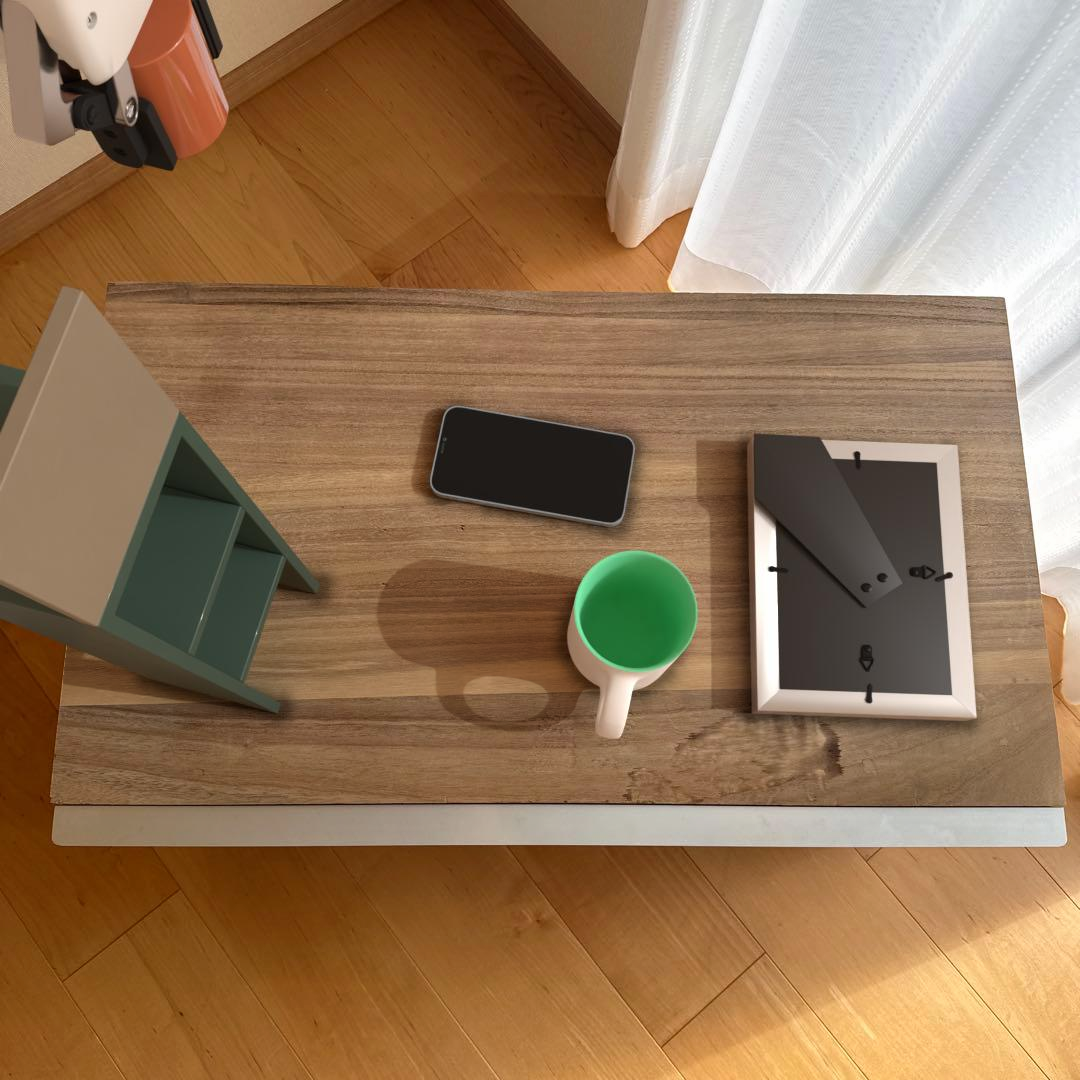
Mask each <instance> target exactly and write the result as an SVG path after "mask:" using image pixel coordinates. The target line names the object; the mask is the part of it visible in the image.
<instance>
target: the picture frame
mask: <svg viewBox="0 0 1080 1080" xmlns="http://www.w3.org/2000/svg"><path fill="white" fill-rule="evenodd" d="M958 446H959V445H958V444H946V443H945V444H944V443H917V442H893V441H869V440H868V441H867V440H841V439H840V440H839V439H822V438H821V437H820V436H811V435H810V436H809V435H793V434H770V433H754V434H753V436H752V437H751V438H750V440H749V442H748V443H747V445H746V468H747V470H746V471H747V473H746V475H747V521H748V522H747V523H748V524H747V525H748V527H747V528H748V529H747V530H748V577H749V578H748V579H749V580H748V581H749V582H748V583H749V585H748V586H749V589H748V590H749V635H750V637H749V641H750V643H749V644H750V691H751V692H750V694H751V695H750V696H751V697H750V699H751V703H750V704H751V714H752V715H753V714H754V715H780V716H782V715H783V716H784V715H785V716H809V717H836V718H837V717H838V718H839V717H840V718H843V717H844V718H868V719H870V718H871V719H893V720H897V719H898V720H924V721H925V720H926V721H951V722H952V721H953V722H956V721H957V722H967V721H971V720H975V719H978V715H977V704H976V703H977V702H976V688H975V675H974V660H973V645H972V631H971V616H970V601H969V589H968V588H969V587H968V576H967V561H966V546H965V532H964V531H965V530H964V517H963V503H962V501H963V500H962V489H961V475H960V473H961V472H960V460H959V459H960V458H959V447H958Z"/></svg>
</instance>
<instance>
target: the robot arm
mask: <svg viewBox="0 0 1080 1080" xmlns="http://www.w3.org/2000/svg"><path fill="white" fill-rule="evenodd" d="M152 1H153V0H0V63H2V64H4V65H6V74H7V83H8V92H9V102H10V111H11V123H12V124H11V125H12V130H13V133H14V135H15V136H16V137H17V138H19V139H22V140H25V141H30V142H34V143H37V144H42V145H46V146H49V147H53V146H55V145H56V146H57V144H59V143H61V142H64V141H66V140H67V139H69V138H73V137H74V136H75V135H76V132H78V131H80V130H81V131H84V132H91V134H92V135H93V138H94V139H95V141H96V142H97V144H98V146H99V147H100V149H101V151H102V152H104V154H105V155H106V156H107V158H109V159H110V160H112V161H113V162H115V163H117V164H118V165H121V166H124V167H129V168H133V169H141V168H143V166H148V167H152V168H155V169H160V170H163V171H167V172H168V171H169V172H173V171H174V170H175V167H176V165H177V162H178V160H179V159H178V157H177V155H176V151H175V149H174V147H173V145H172V143H171V141H170V139H169V137H168V135H167V132H166V130H165V128H164V126H163V124H162V122H161V120H160V118H159V116H158V114H157V112H156V110H155V108H154V106H153V104H152V103H151V102H150V101H149V100H147V99H145V98H142V97H138V96H137V93H136V89H135V85H134V81H133V77H132V73H131V69H130V65H129V61H128V55H129V53H130V51H131V49H132V46H133V44H134V42H135V40H136V38H137V35H138V33H139V31H140V29H141V26H142V24H143V22H144V20H145V17H146V15H147V13H148V10H149V8H150V6H151V4H152ZM191 2H192V5H193V7H194V10H195V13H196V15H197V18H198V21H199V23H200V26H201V29H202V31H203V34H204V37H205V39H206V42H207V44H208V47H209V50H210V52H211V55H212V58H213V60H217V59H219V57H220V55H221V54H222V53H221V52H222V51H223V47H224V45H223V42H222V39H221V37H220V34H219V31H218V28H217V26H216V23H215V20H214V17H213V14H212V12H211V9H210V6H209V3H208V0H191ZM81 72H82V74H83V75H84V77H85V79H83V78H82V74H81Z"/></svg>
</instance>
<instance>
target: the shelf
mask: <svg viewBox="0 0 1080 1080" xmlns="http://www.w3.org/2000/svg"><path fill="white" fill-rule="evenodd" d="M27 365H28V366H27V368H26V369H22V368H18V367H14V366H10V365H6V364H2V363H0V619H1V620H4V621H6V622H9V623H11V624H13V625H16V626H18V627H21V628H23V629H26V630H29V631H31V632H32V633H36V634H38V635H40V636H43V637H46V638H48V639H50V640H53V641H55V642H58V643H60V644H63V645H64V646H67V647H69V648H72V649H75V650H77V651H79V652H82V653H83V654H87V655H90V656H92V657H94V658H97V659H99V660H101V661H103V662H107V663H109V664H112V665H114V666H117V667H118V668H121V669H124V670H126V671H129V672H131V673H134V674H136V675H139V676H141V677H143V678H146V679H148V680H152V681H156V682H160V683H163V684H167V685H170V686H174V687H177V688H182V689H185V690H188V691H192V692H196V693H200V694H203V695H208V696H211V697H214V698H218V699H222V700H225V701H229V702H232V703H235V704H240V705H244V706H246V707H247V706H248V707H251V708H254V709H259V710H262V711H265V712H270V713H271V714H272V713H273V714H276V715H277V714H279V711H280V708H281V705H282V703H281V702H280V701H277V700H275V699H274V698H272V697H270V696H268V695H266V694H264V693H262V692H260V691H259V690H257V689H255V688H253V687H252V686H249V685H248V684H245V683H246V680H247V677H248V674H249V671H250V668H251V665H252V662H253V659H254V656H255V653H256V651H257V648H258V645H259V642H260V639H261V635H262V633H263V630H264V627H265V624H266V621H267V618H268V616H269V612H270V609H271V606H272V603H273V600H274V597H275V594H276V591H277V588H278V585H282V586H286V587H289V588H292V589H293V588H294V589H297V590H300V591H304V592H308V593H310V594H311V593H313V594H318V592H319V589H320V586H321V584H320V582H319V581H318V580H317V579H316V578H315V576H314V574H312V572H310V570H309V569H308V568H307V566H306V565H305V564H304V562H302V560H301V559H300V558H299V556H298V555H297V554H296V553H295V552H294V551H293V549H292V548H291V547H290V545H289V544H288V543H287V542H286V540H285V539H284V537H282V535H281V534H280V532H278V531H277V529H276V528H275V527H274V526H273V524H272V523H271V521H269V519H268V517H266V515H265V514H264V513H263V512H262V511H261V509H260V508H259V506H257V505H256V503H255V502H254V501H253V499H252V498H251V497H250V496H249V495H248V493H247V492H246V491H245V490H244V488H243V487H242V486H241V485H240V483H239V482H238V481H237V480H236V478H235V477H234V476H233V475H232V473H231V472H230V471H229V470H228V469H227V467H226V466H225V465H224V463H222V461H221V460H220V459H219V457H218V456H217V455H216V454H215V452H214V451H213V450H212V448H211V447H210V446H209V445H208V443H206V441H205V440H204V439H203V437H202V436H201V435H200V434H199V432H198V431H197V430H196V429H195V427H194V426H193V425H192V424H191V422H190V421H189V420H188V419H187V418H186V417H185V415H184V414H183V413H182V412H181V411H180V409H179V408H178V406H176V404H175V403H174V402H173V400H172V399H171V398H170V396H169V395H168V394H167V393H166V392H165V391H164V389H163V388H162V387H161V385H160V384H159V383H158V382H157V381H156V379H155V378H154V376H152V374H151V373H150V372H149V370H148V369H146V367H145V365H144V364H142V362H141V361H140V360H139V358H138V357H137V356H136V355H135V353H134V352H133V351H132V349H130V348H129V346H128V345H127V344H126V342H125V341H124V340H123V338H121V336H120V335H119V333H118V332H117V331H116V330H115V328H114V327H113V326H112V325H111V324H110V323H109V321H108V320H107V319H106V318H105V316H104V315H103V314H102V312H101V311H100V310H99V309H98V308H97V306H96V305H95V304H94V302H92V300H91V299H90V298H89V296H88V295H87V293H85V292H84V291H83V290H81V289H77V288H74V287H71V286H70V287H69V286H67V285H66V286H65V285H62V286H61V287H60V289H59V292H58V294H57V296H56V299H55V302H54V304H53V307H52V308H51V311H50V313H49V316H48V318H47V320H46V323H45V325H44V327H43V330H42V332H41V335H40V337H39V340H38V342H37V344H36V346H35V349H34V351H33V354H32V356H31V359H30V361H29V363H28V364H27Z"/></svg>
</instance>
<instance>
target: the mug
mask: <svg viewBox="0 0 1080 1080" xmlns="http://www.w3.org/2000/svg"><path fill="white" fill-rule="evenodd" d="M575 593H576V594H575V598H574V602H573V605H572V609H571V614H570V617H569V622H568V627H567V632H566V633H567V634H566V639H567V640H566V641H567V648H568V652H569V655H570V657H571V660H572V662H573V664H574V666H575V667H576V669H577V670H578V672H580V674H581V675H582V676H583V677H584V678H586V679H587V680H588V681H589V682H591V683H592V684H593V685H596V686H597V687H599V700H598V705H597V711H596V718H595V724H594V732H595V734H596V735H597V736H599V737H601V738H605V739H609V740H617V739H620V738H621V737H622V735H623V732H624V729H625V726H626V722H627V718H628V714H629V709H630V705H631V700H632V694H633V691H637V690H640V689H644V688H645V687H648V686H649V685H651V684H653V683H654V682H656V681H657V680H658V679H659V678H660V677H661V676H662V675H663V674H664V673H665V672H666V670H667V669H668V668H669V667H670V666H671V665H673V663H674V662H675V661H676V660H677V659H678V658H679V657H680V656H681V655H682V654H683V653H684V651H685V650H686V649H687V647H689V644H690V643H691V642H692V639H693V637H694V635H695V632H696V628H697V624H698V614H699V613H698V601H697V598H696V594H695V591H694V588H693V587H692V584H691V582H690V581H689V579H688V578H687V577H686V575H685V574H684V573H683V572H682V570H681V569H680V568H679V567H678V566H676V564H674V563H673V562H671V561H670V560H668V559H667V558H665V557H663V556H661V555H659V554H656V553H653V552H649V551H644V550H625V551H619V552H616V553H613V554H610V555H608V556H606V557H603V558H602V559H600V561H597V563H595V564H594V565H593V566H592V567H591V568H590V569H589V570H588V571H587V572H586V574H585V575H584V576H583V578H582V580H581V581H580V584H579V586H578V588H577V591H576V592H575Z"/></svg>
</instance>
